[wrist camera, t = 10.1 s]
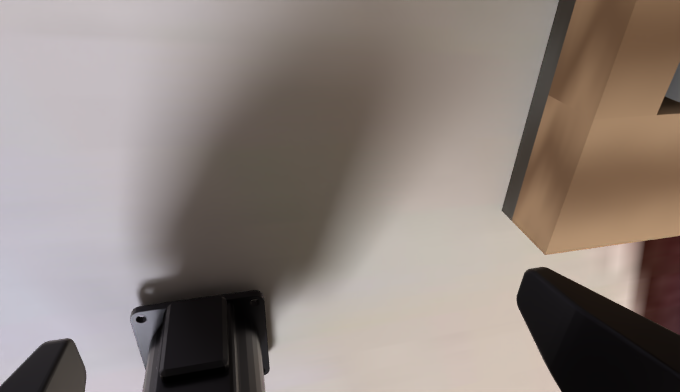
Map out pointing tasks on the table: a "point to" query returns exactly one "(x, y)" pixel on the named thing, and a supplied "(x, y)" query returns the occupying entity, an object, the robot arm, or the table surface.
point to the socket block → (602, 130)
